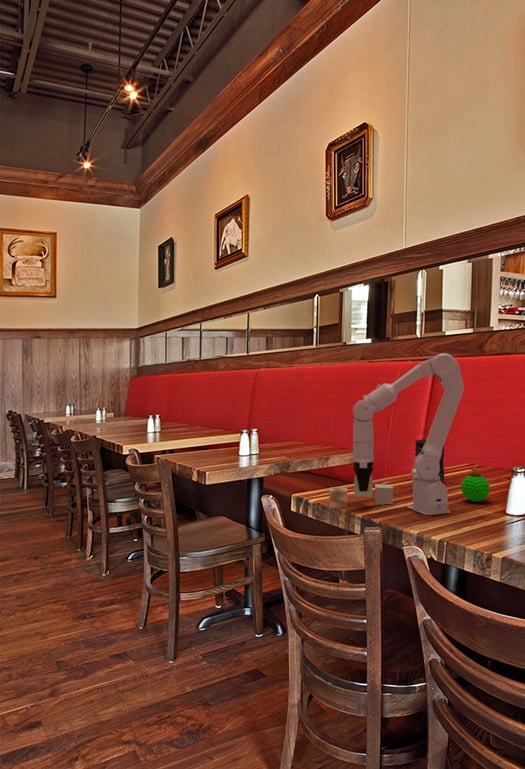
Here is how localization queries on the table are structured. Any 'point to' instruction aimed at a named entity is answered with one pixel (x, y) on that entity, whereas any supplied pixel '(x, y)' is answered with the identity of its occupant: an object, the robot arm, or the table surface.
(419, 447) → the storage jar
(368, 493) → the sage block
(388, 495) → the white cube
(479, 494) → the ornament
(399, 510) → the table surface
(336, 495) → the birch block
